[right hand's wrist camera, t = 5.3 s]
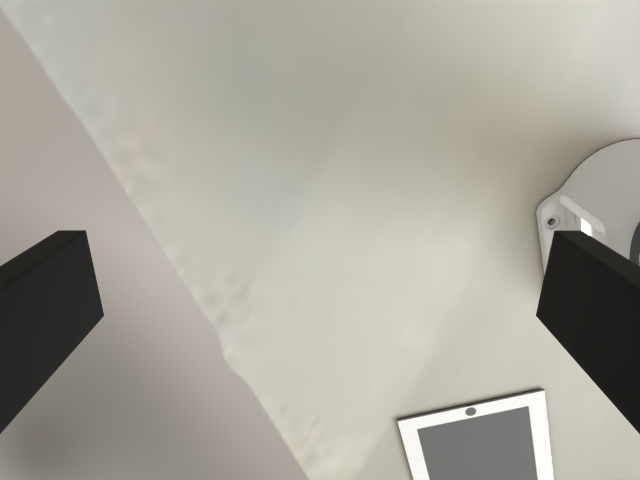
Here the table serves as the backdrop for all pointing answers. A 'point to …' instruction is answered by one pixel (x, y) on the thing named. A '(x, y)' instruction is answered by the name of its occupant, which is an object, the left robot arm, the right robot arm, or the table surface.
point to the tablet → (481, 440)
